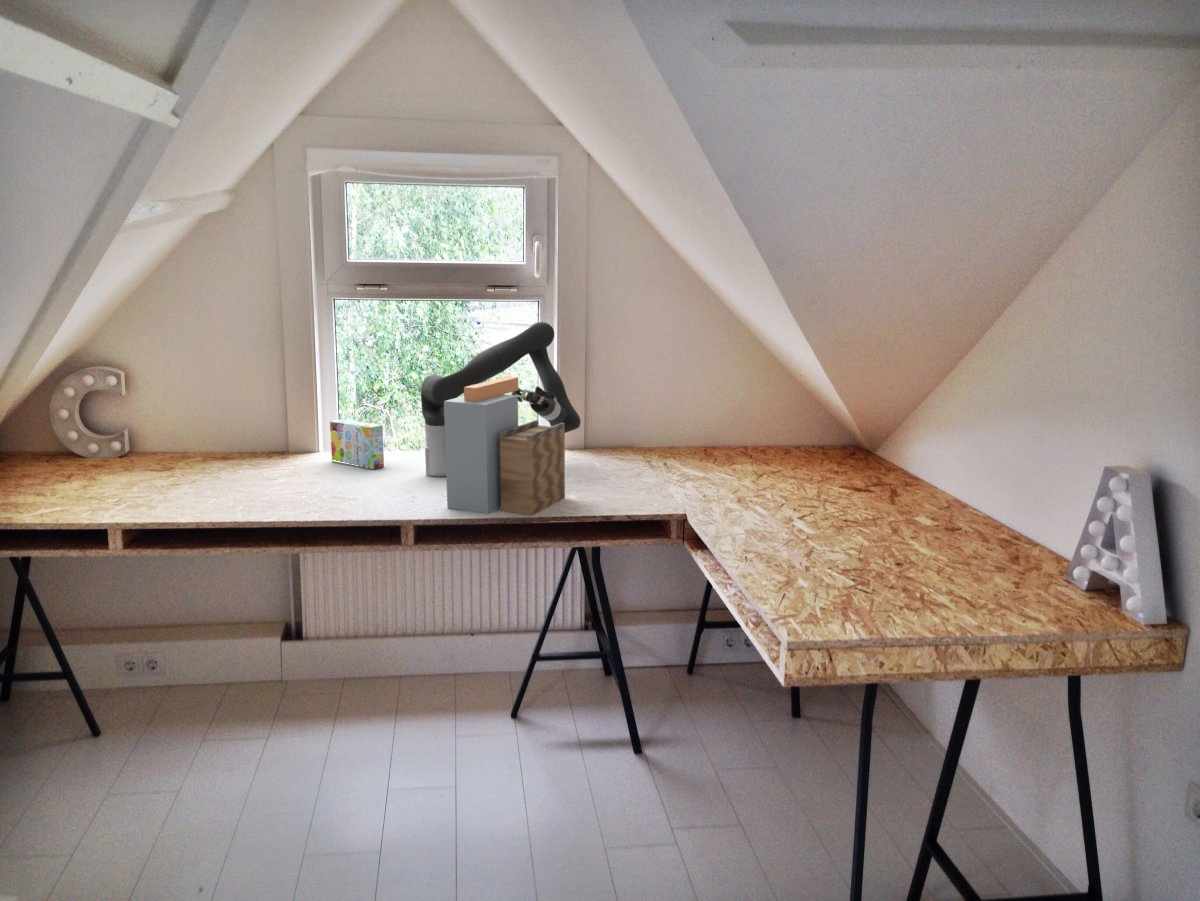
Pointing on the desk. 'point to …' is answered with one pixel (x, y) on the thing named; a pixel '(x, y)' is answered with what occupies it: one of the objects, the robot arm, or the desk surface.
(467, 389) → the rail
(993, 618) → the desk surface
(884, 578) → the desk surface
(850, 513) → the desk surface
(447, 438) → the grey tall rectangular block
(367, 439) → the snack box
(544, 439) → the wood grain block
